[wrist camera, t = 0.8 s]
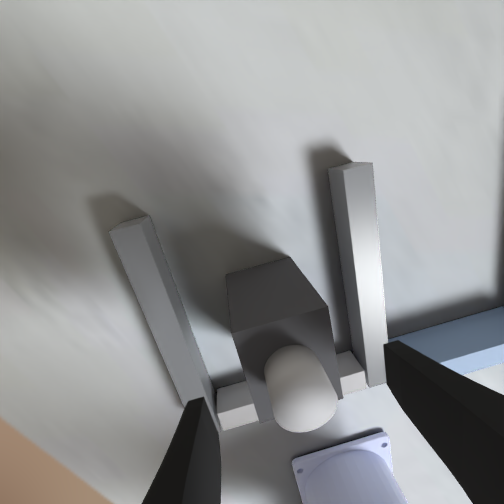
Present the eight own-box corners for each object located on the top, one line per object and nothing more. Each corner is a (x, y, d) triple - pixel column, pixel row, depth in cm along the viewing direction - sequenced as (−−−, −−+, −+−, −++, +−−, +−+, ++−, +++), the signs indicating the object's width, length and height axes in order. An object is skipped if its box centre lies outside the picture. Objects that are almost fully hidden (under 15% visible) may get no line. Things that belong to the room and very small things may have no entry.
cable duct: (522, 317, 21) (571, 342, 18) (199, 411, 20) (196, 454, 17) (545, 112, 16) (616, 102, 13) (121, 222, 15) (100, 237, 12)
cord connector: (304, 325, 19) (365, 438, 11) (245, 342, 18) (267, 468, 11) (290, 256, 17) (350, 336, 9) (225, 274, 17) (234, 369, 9)
